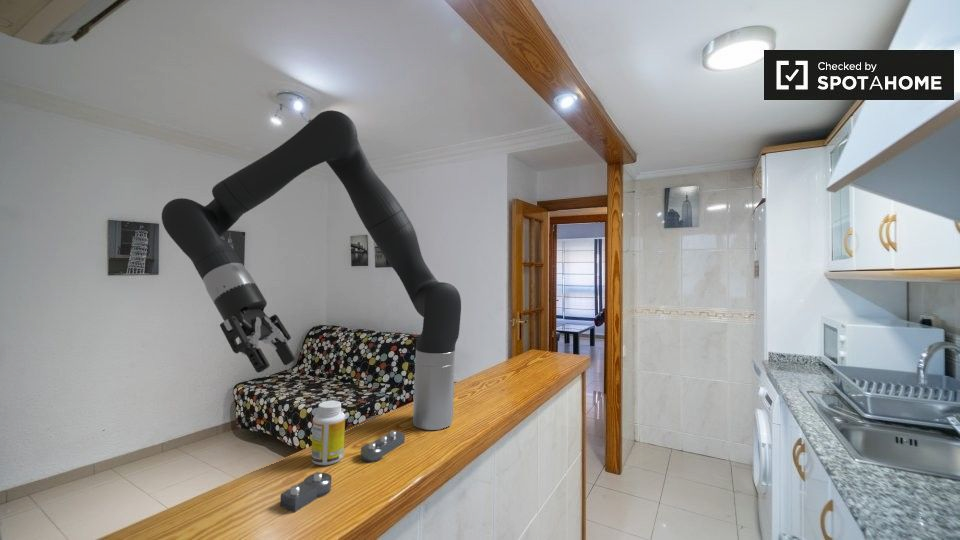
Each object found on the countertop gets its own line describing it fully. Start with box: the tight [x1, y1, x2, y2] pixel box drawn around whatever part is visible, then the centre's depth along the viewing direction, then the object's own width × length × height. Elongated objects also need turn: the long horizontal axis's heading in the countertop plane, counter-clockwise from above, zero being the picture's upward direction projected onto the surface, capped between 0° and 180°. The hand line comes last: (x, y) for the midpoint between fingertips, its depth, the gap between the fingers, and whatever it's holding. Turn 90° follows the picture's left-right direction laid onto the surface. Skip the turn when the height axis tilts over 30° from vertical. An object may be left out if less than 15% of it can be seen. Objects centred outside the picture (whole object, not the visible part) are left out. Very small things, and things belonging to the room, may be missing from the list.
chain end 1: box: [279, 471, 332, 513], centre depth 60 cm, size 8×4×3 cm, turn 156°
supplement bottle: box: [311, 400, 346, 466], centre depth 72 cm, size 6×6×10 cm
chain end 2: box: [360, 430, 406, 463], centre depth 76 cm, size 10×4×3 cm, turn 156°
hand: (278, 366), depth 71 cm, fingers open, 8 cm apart
